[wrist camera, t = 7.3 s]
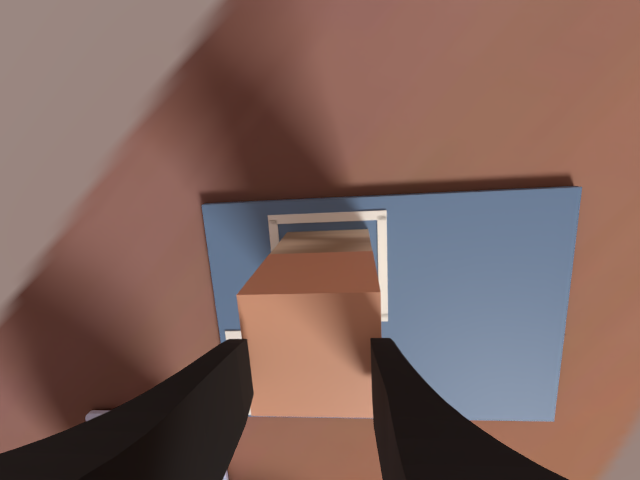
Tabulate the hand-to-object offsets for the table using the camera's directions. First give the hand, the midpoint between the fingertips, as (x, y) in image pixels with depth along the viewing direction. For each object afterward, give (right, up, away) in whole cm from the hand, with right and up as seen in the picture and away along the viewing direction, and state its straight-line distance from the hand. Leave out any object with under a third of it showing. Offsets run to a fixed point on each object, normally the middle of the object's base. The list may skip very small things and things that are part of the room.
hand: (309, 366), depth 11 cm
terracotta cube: (0, +1, +5) cm, 5 cm away
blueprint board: (+4, 0, +10) cm, 11 cm away
